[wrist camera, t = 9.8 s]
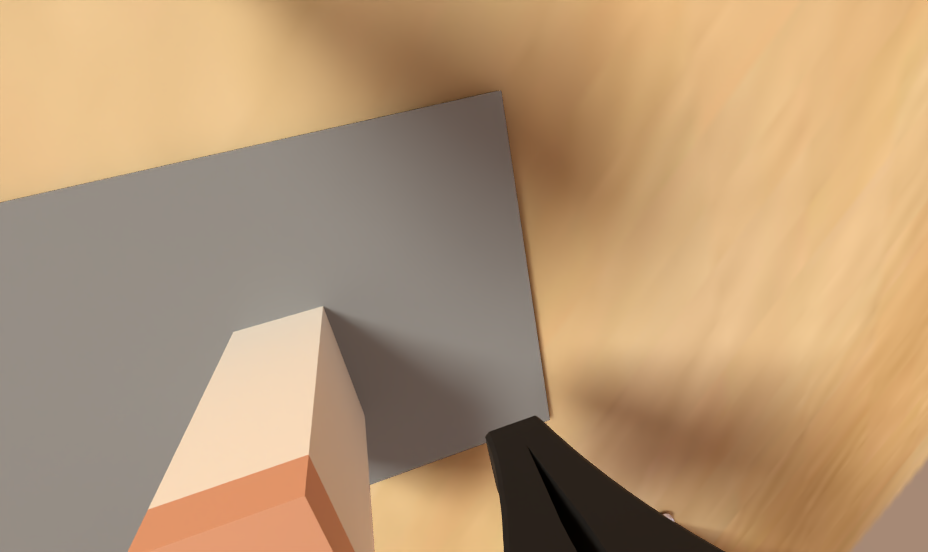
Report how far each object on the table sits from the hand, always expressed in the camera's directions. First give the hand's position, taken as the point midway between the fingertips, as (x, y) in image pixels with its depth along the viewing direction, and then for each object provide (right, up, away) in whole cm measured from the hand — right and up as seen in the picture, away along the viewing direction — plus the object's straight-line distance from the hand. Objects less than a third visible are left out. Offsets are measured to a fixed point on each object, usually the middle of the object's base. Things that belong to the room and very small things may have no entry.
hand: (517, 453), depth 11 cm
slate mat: (-9, +1, +5) cm, 10 cm away
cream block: (-7, +1, +5) cm, 9 cm away
